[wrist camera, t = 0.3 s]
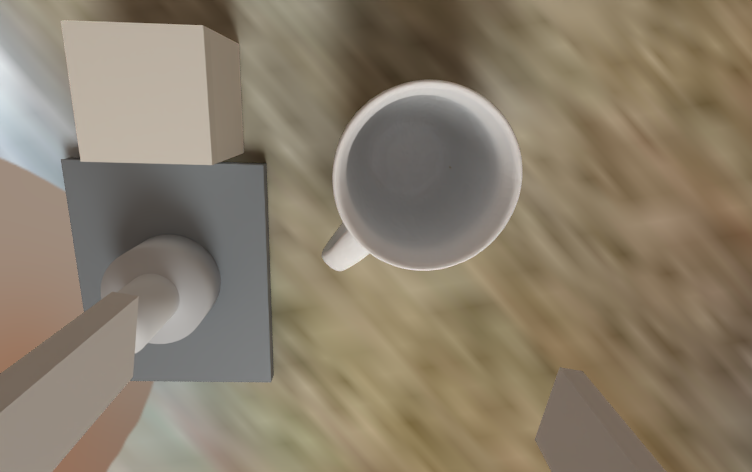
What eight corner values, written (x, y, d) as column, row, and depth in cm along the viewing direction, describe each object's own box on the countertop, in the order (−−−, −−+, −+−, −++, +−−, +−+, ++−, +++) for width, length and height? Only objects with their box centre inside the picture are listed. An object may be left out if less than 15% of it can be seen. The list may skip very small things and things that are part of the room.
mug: (381, 276, 41) (389, 350, 29) (284, 197, 39) (248, 239, 27) (499, 150, 39) (565, 171, 26) (402, 57, 37) (423, 31, 24)
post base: (70, 157, 38) (-37, 176, 28) (266, 163, 38) (232, 183, 28) (101, 373, 43) (21, 454, 33) (273, 375, 44) (246, 455, 34)
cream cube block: (129, 40, 36) (60, 20, 28) (239, 43, 36) (203, 25, 28) (140, 150, 38) (80, 161, 30) (244, 152, 38) (212, 164, 30)
